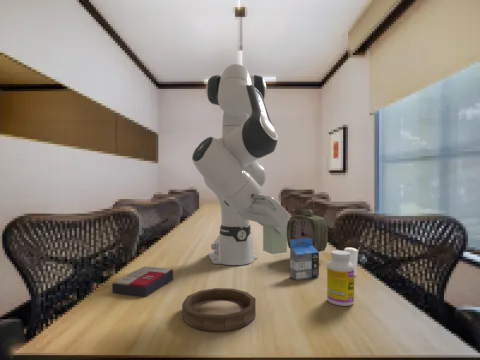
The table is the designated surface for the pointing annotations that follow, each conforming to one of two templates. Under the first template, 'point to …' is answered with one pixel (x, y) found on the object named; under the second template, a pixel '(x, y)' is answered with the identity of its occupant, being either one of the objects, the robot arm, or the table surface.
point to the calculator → (143, 281)
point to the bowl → (219, 309)
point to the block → (274, 240)
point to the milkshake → (353, 257)
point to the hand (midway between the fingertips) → (276, 230)
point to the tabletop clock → (308, 228)
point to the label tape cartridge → (303, 259)
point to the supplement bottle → (340, 279)
